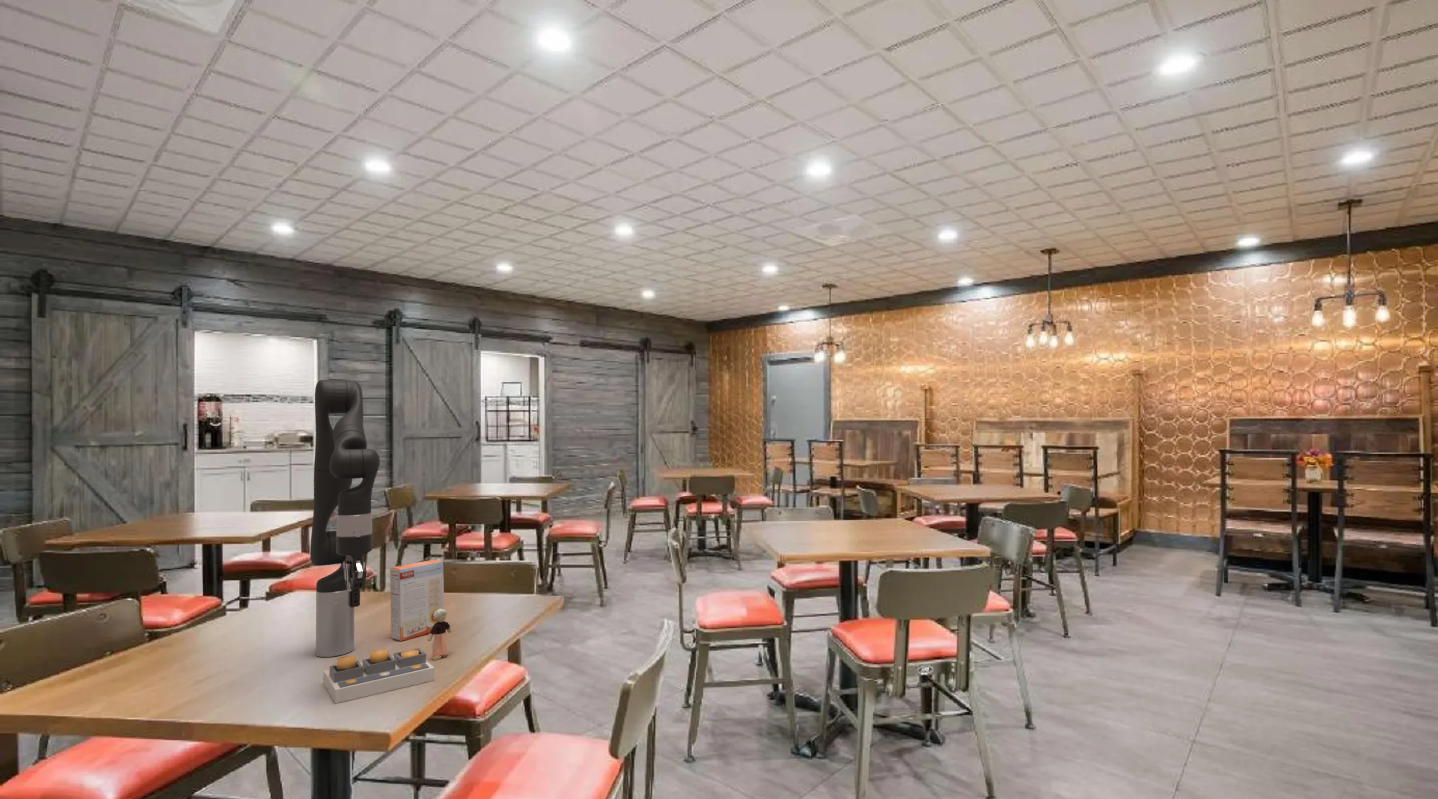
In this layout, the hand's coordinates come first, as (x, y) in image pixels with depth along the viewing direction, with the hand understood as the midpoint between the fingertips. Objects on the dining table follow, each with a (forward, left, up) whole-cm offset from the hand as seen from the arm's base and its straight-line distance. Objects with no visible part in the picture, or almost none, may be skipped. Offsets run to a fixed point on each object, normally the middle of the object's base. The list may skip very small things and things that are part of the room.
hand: (354, 606), depth 159 cm
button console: (0, +5, -19) cm, 20 cm away
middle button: (0, +5, -14) cm, 15 cm away
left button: (0, -2, -14) cm, 14 cm away
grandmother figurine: (-9, +22, -19) cm, 31 cm away
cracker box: (-35, +23, -19) cm, 46 cm away
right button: (0, +12, -16) cm, 20 cm away
